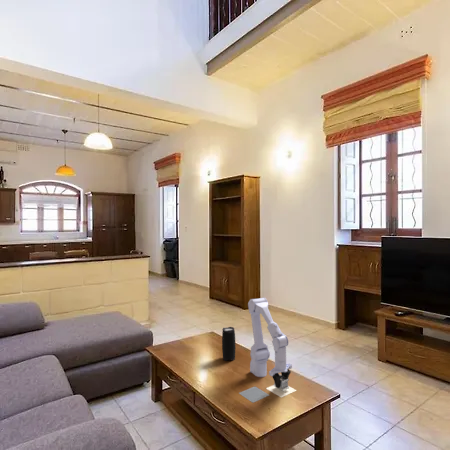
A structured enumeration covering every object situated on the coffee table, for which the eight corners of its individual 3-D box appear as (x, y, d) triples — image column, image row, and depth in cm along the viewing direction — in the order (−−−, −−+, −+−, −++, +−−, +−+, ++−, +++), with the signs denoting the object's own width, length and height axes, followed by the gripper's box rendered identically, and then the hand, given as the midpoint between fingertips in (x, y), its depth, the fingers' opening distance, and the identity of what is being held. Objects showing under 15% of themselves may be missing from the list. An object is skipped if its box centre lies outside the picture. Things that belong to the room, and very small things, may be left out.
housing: (273, 386, 163) (273, 376, 163) (279, 383, 165) (279, 373, 165) (282, 391, 158) (282, 381, 158) (288, 388, 160) (288, 378, 160)
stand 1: (238, 396, 159) (238, 393, 159) (255, 389, 165) (255, 386, 165) (252, 405, 150) (252, 402, 150) (269, 398, 156) (269, 395, 156)
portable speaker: (232, 355, 209) (232, 325, 209) (237, 360, 200) (237, 330, 200) (220, 357, 206) (220, 327, 206) (224, 362, 197) (224, 331, 197)
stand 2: (265, 391, 163) (265, 388, 163) (280, 384, 169) (280, 381, 169) (281, 400, 154) (281, 397, 154) (296, 393, 160) (296, 390, 160)
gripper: (276, 365, 154) (276, 393, 154) (296, 358, 163) (296, 384, 163) (266, 361, 160) (266, 387, 160) (286, 353, 168) (286, 379, 168)
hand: (281, 385), depth 162 cm, fingers closed on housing, 4 cm apart
